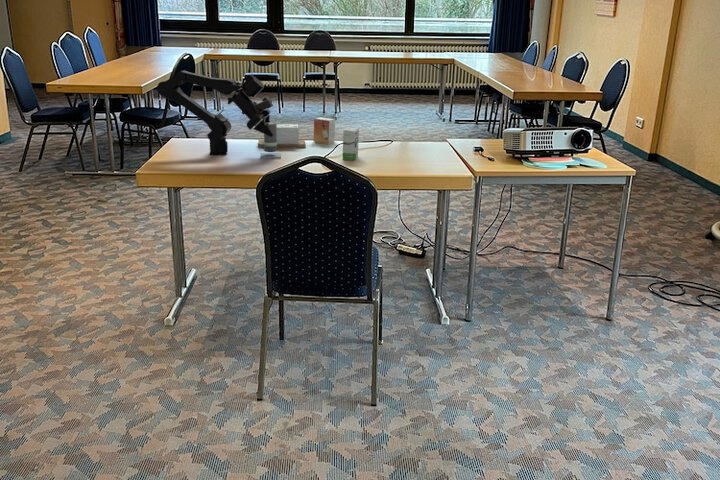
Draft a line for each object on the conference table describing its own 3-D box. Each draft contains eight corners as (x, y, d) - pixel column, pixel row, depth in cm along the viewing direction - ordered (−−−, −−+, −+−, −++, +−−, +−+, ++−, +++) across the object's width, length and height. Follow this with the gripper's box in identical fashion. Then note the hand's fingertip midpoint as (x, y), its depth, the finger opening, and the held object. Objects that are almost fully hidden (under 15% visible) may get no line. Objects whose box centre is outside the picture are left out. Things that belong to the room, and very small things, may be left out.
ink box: (354, 160, 276) (355, 131, 272) (342, 159, 277) (342, 130, 273) (358, 156, 284) (359, 127, 280) (346, 155, 285) (347, 126, 281)
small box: (313, 142, 308) (313, 118, 305) (319, 140, 313) (320, 116, 310) (328, 144, 305) (329, 120, 302) (335, 142, 310) (335, 118, 306)
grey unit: (258, 147, 293) (258, 127, 290) (258, 142, 302) (258, 123, 300) (305, 147, 296) (305, 128, 293) (304, 143, 305) (304, 124, 302)
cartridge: (263, 152, 274) (263, 124, 271) (264, 149, 279) (264, 122, 276) (276, 152, 275) (276, 124, 271) (276, 149, 280) (277, 122, 276)
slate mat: (260, 158, 274) (260, 156, 274) (260, 154, 280) (260, 153, 280) (280, 158, 275) (280, 156, 275) (280, 154, 282) (280, 153, 281)
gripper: (254, 94, 261) (283, 125, 264) (265, 88, 278) (292, 117, 281) (234, 114, 264) (263, 144, 267) (246, 107, 282) (273, 135, 284)
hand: (273, 134), depth 275 cm, fingers closed on cartridge, 5 cm apart
